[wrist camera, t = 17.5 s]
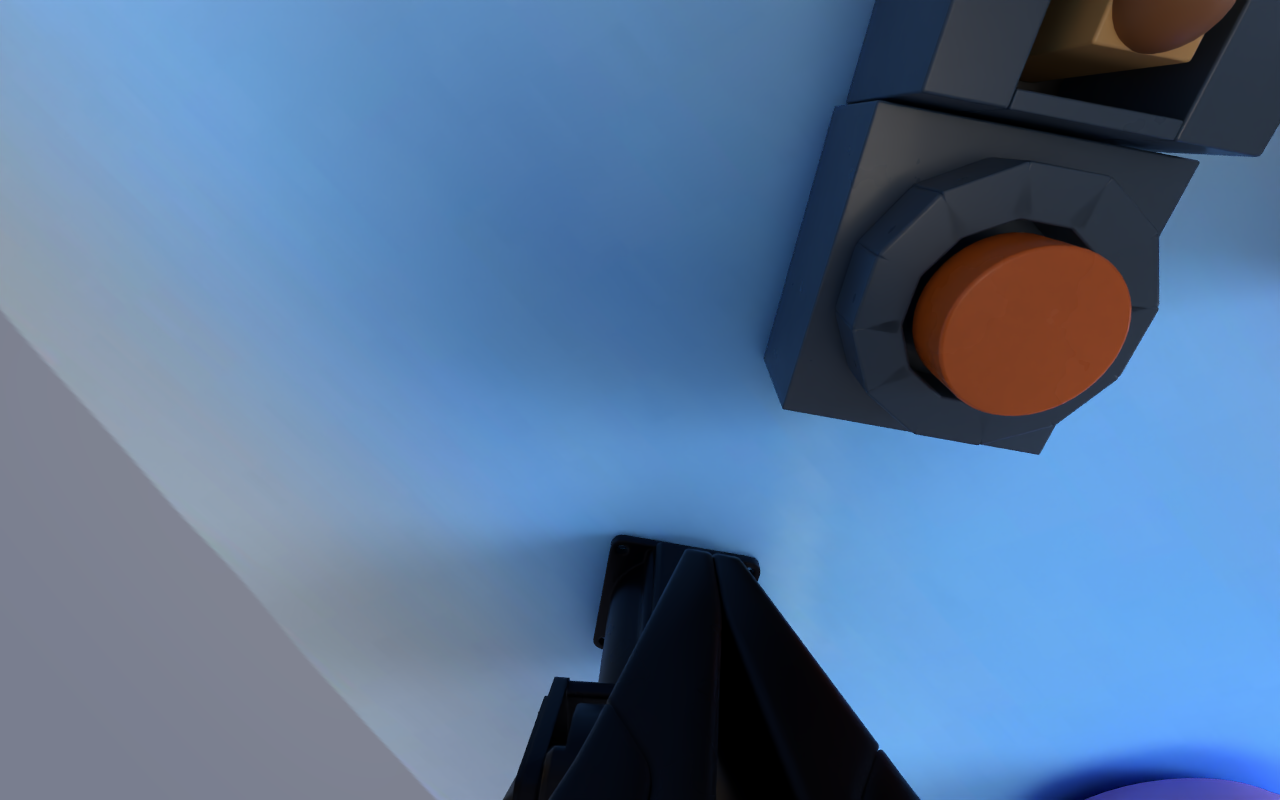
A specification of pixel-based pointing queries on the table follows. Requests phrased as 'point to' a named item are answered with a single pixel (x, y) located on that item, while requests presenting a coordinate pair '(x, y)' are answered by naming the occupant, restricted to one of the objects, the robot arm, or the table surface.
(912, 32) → the toaster
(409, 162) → the table surface
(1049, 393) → the button
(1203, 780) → the teapot
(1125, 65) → the tan slab
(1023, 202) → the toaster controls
